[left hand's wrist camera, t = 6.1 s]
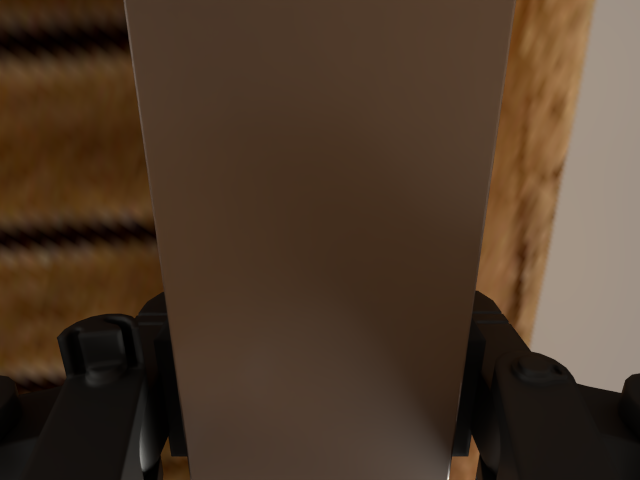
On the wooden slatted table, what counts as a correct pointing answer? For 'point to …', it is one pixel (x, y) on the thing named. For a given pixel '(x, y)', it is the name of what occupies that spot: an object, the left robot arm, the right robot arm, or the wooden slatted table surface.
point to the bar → (319, 223)
